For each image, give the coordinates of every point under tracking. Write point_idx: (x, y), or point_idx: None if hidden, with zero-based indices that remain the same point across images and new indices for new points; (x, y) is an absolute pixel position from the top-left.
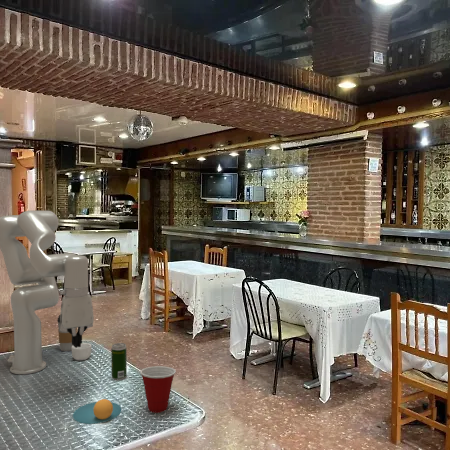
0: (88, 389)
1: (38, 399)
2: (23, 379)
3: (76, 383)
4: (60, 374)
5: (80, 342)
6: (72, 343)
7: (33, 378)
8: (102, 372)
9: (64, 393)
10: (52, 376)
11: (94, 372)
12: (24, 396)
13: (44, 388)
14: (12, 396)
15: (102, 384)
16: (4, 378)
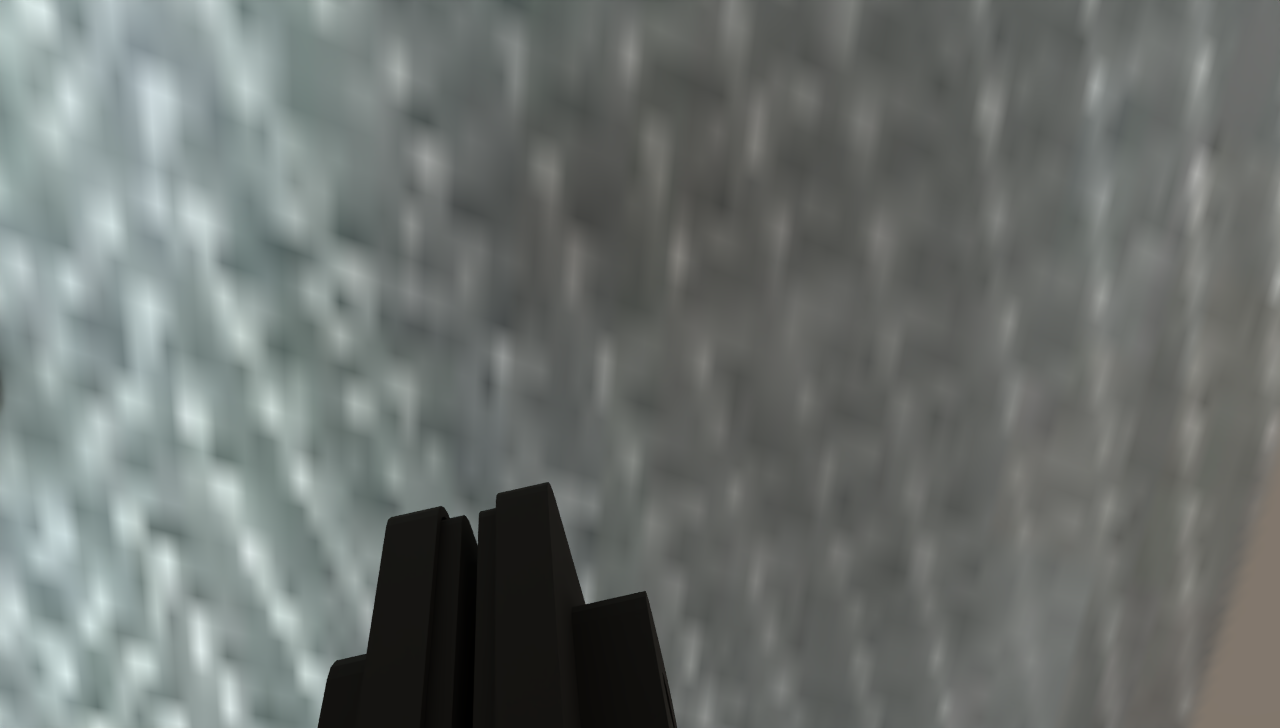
0: (343, 112)
1: (1027, 37)
2: (1045, 656)
3: (506, 378)
4: (671, 677)
5: (381, 612)
6: (660, 655)
7: (951, 653)
8: (160, 605)
9: (685, 103)
10: (760, 650)
11: (269, 631)
12: (1149, 207)
13: (895, 360)
14: (1260, 260)
15: (131, 219)
16: (1192, 722)
